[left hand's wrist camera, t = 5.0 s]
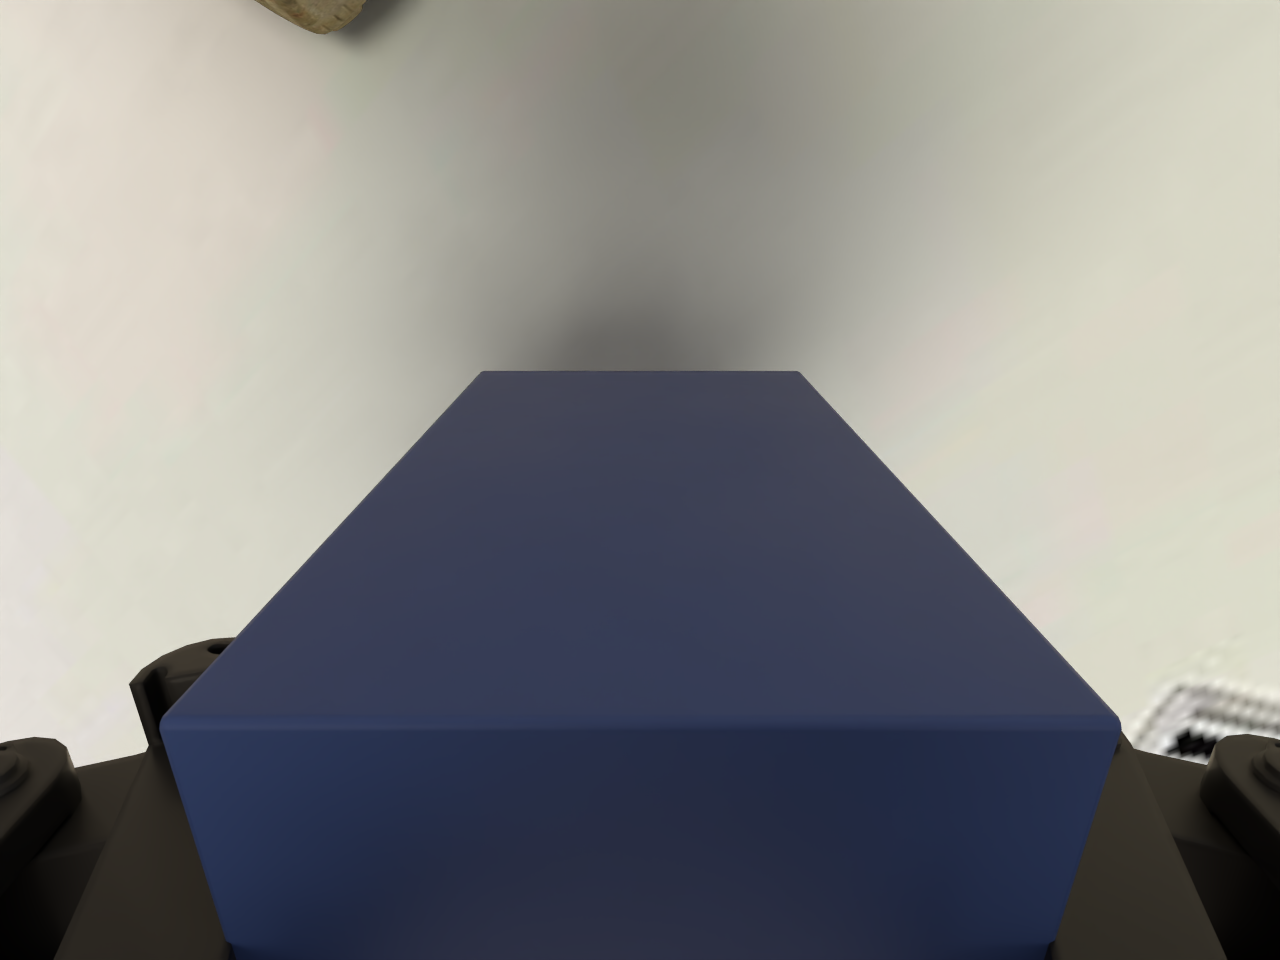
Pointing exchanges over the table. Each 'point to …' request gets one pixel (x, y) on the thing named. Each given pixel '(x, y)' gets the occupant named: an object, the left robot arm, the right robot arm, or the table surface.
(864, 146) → the table surface
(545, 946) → the box
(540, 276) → the table surface
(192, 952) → the left robot arm
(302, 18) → the sculpture
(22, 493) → the table surface
